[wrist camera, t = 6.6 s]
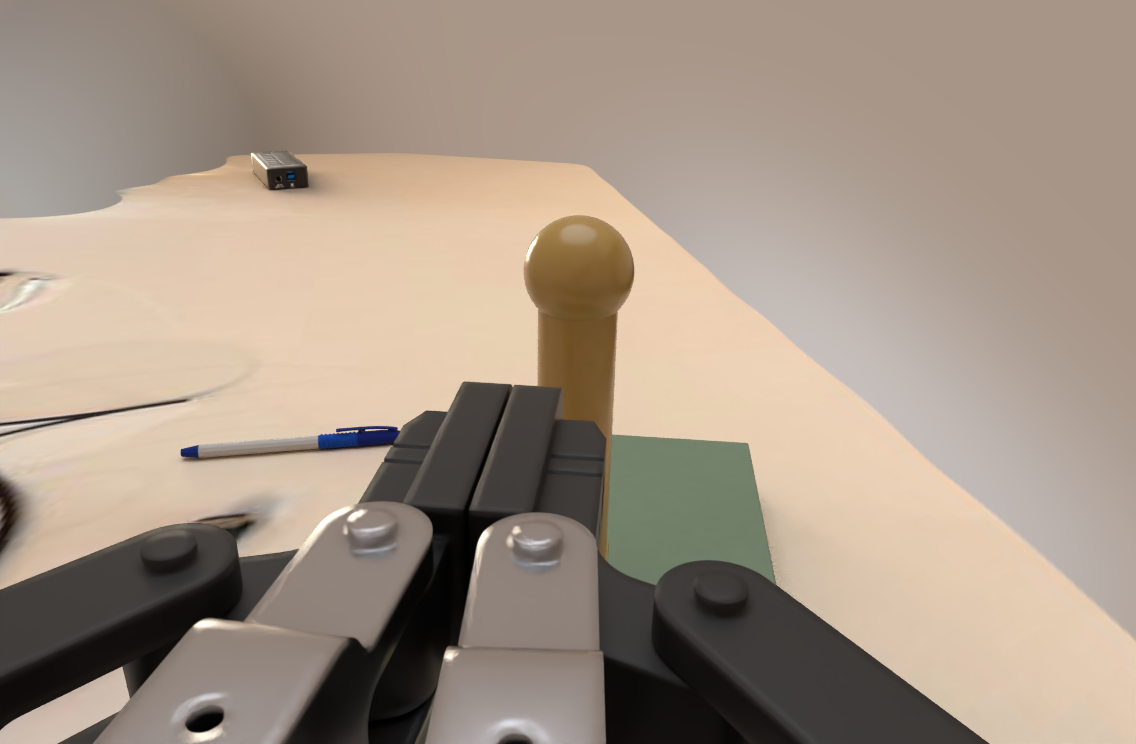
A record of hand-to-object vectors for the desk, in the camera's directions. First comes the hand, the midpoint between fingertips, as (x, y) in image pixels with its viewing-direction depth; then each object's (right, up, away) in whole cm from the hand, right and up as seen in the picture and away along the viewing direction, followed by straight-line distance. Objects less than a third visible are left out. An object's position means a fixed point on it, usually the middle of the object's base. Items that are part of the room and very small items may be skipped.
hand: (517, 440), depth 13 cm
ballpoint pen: (-13, -3, +30) cm, 33 cm away
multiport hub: (-33, +23, +89) cm, 97 cm away
